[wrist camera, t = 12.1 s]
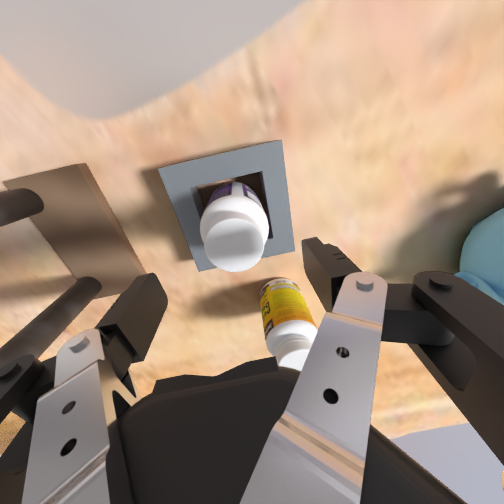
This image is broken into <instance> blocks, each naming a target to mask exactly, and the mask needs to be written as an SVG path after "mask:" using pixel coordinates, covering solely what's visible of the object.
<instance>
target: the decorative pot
mask: <svg viewBox="0 0 504 504" xmlns="http://www.w3.org/2000/svg"><path fill="white" fill-rule="evenodd" d="M454 275H455V276H457V277H460V278H461V279H463V280H465V281H466V282H468V283H469V284H471V285H473V286H474V287H476V288H477V289H479V290H480V291H482V292H484V293H485V294H487V295H488V296H490V297H492V298H493V299H495V300H496V301H498V302H499V303H501V304H503V305H504V207H503V208H502V209H500V210H498V211H497V212H495V213H494V214H492V215H490V216H489V217H487V218H486V219H485V220H482V221H480V222H478V223H477V224H475V225H474V226H473V227H472V229H471V231H470V234H469V235H468V237H467V238H466V240H465V242H464V245H463V248H462V252H461V257H460V272H457V273H455V274H454Z"/></svg>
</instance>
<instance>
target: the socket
mask: <svg viewBox="0 0 504 504" xmlns="http://www.w3.org/2000/svg"><path fill="white" fill-rule="evenodd" d="M158 171H159V173H160V176H161V178H162V181H163V183H164V186H165V188H166V191H167V193H168V196H169V198H170V201H171V203H172V206H173V208H174V211H175V213H176V216H177V219H178V221H179V224H180V226H181V229H182V231H183V234H184V236H185V239H186V241H187V244H188V246H189V249H190V251H191V254H192V256H193V259H194V261H195V264H196V266H197V269H198V271H199V272H200V271H204V270H209V269H214V268H217V267H216V266H215V265H213V264H212V263H211V262H210V260H209V259H208V257H207V256H206V253H205V249H204V243H203V240H202V238H201V234H200V222H201V218H202V215H203V213H204V211H205V210H204V207H203V204H202V201H201V198H200V195H199V192H198V189H197V186H199V185H203V184H208V183H212V182H216V181H221V180H225V179H230V178H234V177H238V176H243V175H247V174H251V173H256V172H260V178H261V184H262V189H263V195H264V201H265V206H266V212H267V218H268V223H269V233H268V238H267V241H266V243H265V245H264V251H263V254H262V256H261V258H265V257H269V256H274V255H279V254H283V253H288V252H293V251H295V247H294V238H293V230H292V221H291V213H290V205H289V196H288V188H287V179H286V171H285V162H284V154H283V146H282V140H275V141H271V142H267V143H262V144H258V145H254V146H249V147H245V148H241V149H237V150H232V151H228V152H224V153H219V154H215V155H211V156H207V157H202V158H198V159H194V160H190V161H185V162H181V163H177V164H172V165H168V166H165V167H162V168H159V169H158Z"/></svg>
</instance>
